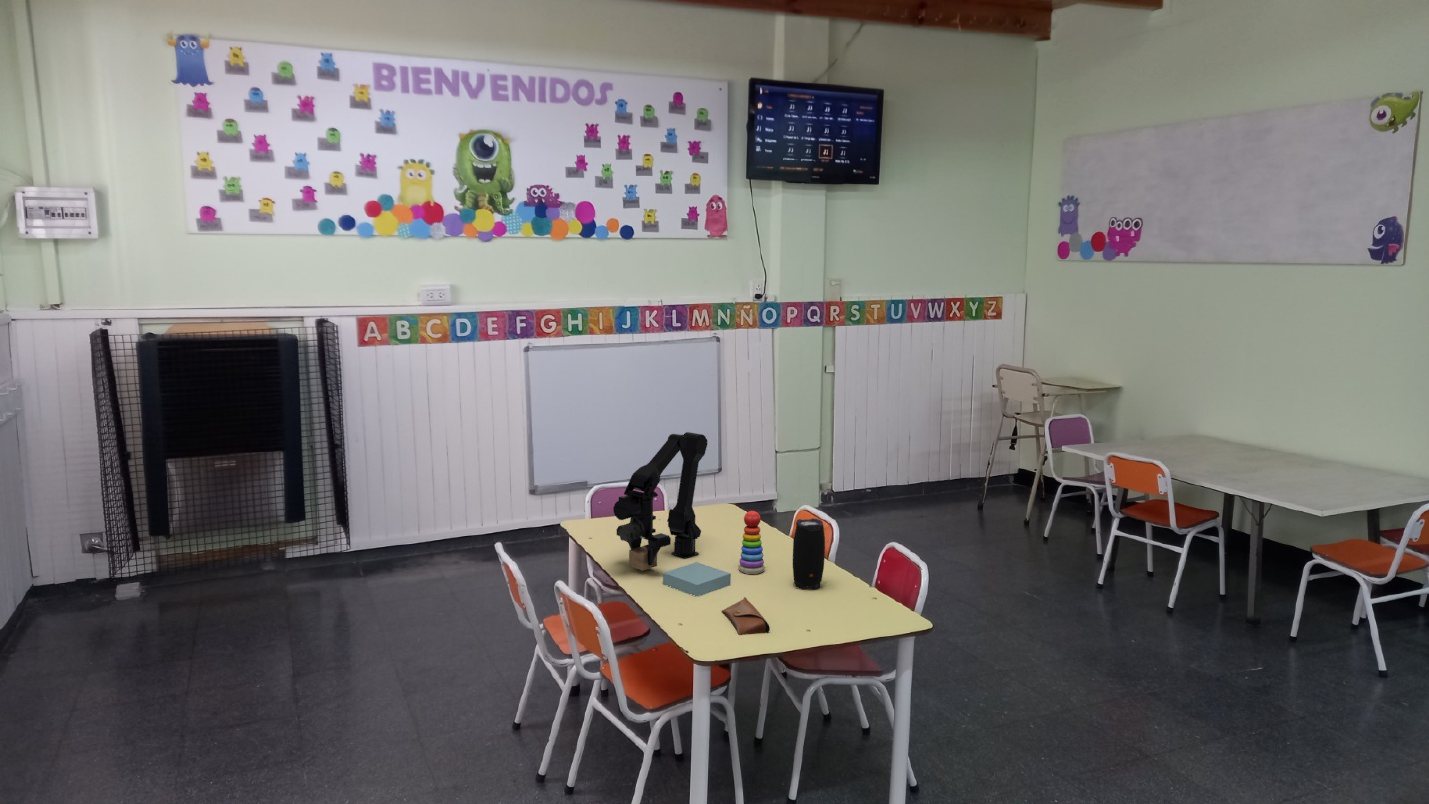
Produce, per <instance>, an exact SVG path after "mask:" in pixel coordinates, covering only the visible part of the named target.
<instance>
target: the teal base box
mask: <svg viewBox="0 0 1429 804" xmlns="http://www.w3.org/2000/svg"><path fill="white" fill-rule="evenodd" d="M731 575H732V574H731V573H730V572H727V571H725V570H722V569H719V568H715V567H712V566H710V565H706V564H704V563H701V562H697V561H696V562H692V563H689V564H687V565H682V566H679V567H677V568H674V569H671V570H667V571H664V572H663V573H662V585H664V586H666V585H668V586H667V587H669V586H671V587H670V588H671V589H674V588H675V590H677V589H678V591H680V592H683V593H685V594H688V595H690V594H692V595H691V596H693V595H695V596H694V597H696V596H698V597H700V596H699V595H701V596H704V595H706V594H709V593H712V592H715V591H717V590H721V589H724V588H726V587H729V586H731V580H732V579H731V577H732V576H731ZM703 594H704V595H703Z"/></svg>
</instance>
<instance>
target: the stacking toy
mask: <svg viewBox="0 0 1429 804" xmlns="http://www.w3.org/2000/svg"><path fill="white" fill-rule="evenodd" d="M743 521H744V522H743V523H744V524H745V527H743V532H744V533H743V535H742V541H741V544H742V546H741V548H740V549H741V552H740V558H739V564H738V565H739V566H738V570H739V571H740V572H741V573H744V574H747V575H757V574H761V573H763V572H764V571H765V570H766V569H765V568H766V567H765V565H764V563H765V560H764V553H763V551H764V549H763V546H762V543H763V542H762V540H761V538H762V535H761V528H760V526H759V524H760V523H761V516H760V514H759V513H758V512H757V511H754V510H749V511H747V512H746V513H745V515H744V516H743Z"/></svg>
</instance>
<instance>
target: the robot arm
mask: <svg viewBox="0 0 1429 804" xmlns="http://www.w3.org/2000/svg"><path fill="white" fill-rule="evenodd" d="M707 447H708V439H707V438H706V435H704V434H702V433H701V434H700V433H697V432H696V433H695V432H690V431H686V432H684V434H679V433H678V434H676V433H672V434H670V435H668V438H667V440H666V441H665V443H664V444H663V445H662V446H661V447H660V448H659V450H658V451H657V452H656V453H655V455H654V456H653V457H652V458H651V460H649V461H648V462H647V464H645V465H642V466H640V467H638V468H637V469H636V470H635V471H634V472H633V473H632V475H631V477H630V480H629V481H628V484H627V486H626V488H625V489H624V493H623V495H621V496H618V501H616V502H615V503H614V504H613V505H614V506H613V507H612V508H613V509H612V510H613V514H614V516H615V517H616V518H617V519H618V520H619V521H624V520H627V519H630V520H629V522H628V523H626V524H621V525H620V524H619V525H618V527H617V528H616V536H618V537H619V538H620V541H623V542H626V543H627V544H628V545H629V548H630V550H631V549H635V548H638V547H642V546H641V545H642V540H643V539H644V540H646V541H647V544H644V545H643V546H645V547H646V548H647V550H648V565H652V563H653V561H654V559H655V557H656V555H657V556H658V554H659V551H660V550H661V548H664V547H667V546H671V541H672V538H671V537H670V535H671V536H672V535H673V536H674V541H673V542H674V543H673V545H674V546H673V551H671V552H670V553H671V555H674V556H677V557H679V558H682V559H688V558H691V557H695V556H698V555H699V552H698V551H696V540H697V539H699V538H701V534H702V530H701V528H700V527H699V526H698V524H697V523H696V514H695V511H694V508H693V502H694V496H695V489H696V482H697V476H698V469H699V463H700V461H701V460H702V458H703V457H704V456H705V455H706V451H707ZM679 452H680V454H681V457H682V466H681V474H680V479H679V480H680V481H679V486H678V493H677V498H676V499H677V500H676V505H675V506H674V507H673V509H672V508H670V509H669V510H668V517H667V521H666V522H667V528H668V529H669V532H670V535H668V534H665V533H661V532H660V533H657V531H656V528H654V520H657V519H656V518H657V517H656V515H654V498H656V497H658V496H659V494H658V493H657V492H656V491H655V490H656V488H657V487H658V485H659V484H660V483H661V475H662V473H663V472H664V470H665V469H666V468H667V467H668V466H669V464H670V463H671V462H672V461H673V459H674V458H675V457H676V455H677V454H678V453H679ZM655 533H657V534H655Z"/></svg>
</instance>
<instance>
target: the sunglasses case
mask: <svg viewBox="0 0 1429 804" xmlns="http://www.w3.org/2000/svg"><path fill="white" fill-rule="evenodd" d="M720 611H722V612H721V613H722V614H723V615H724V614H725V615H724V616H725V617H726V618H727V619H728V620H729V622H730V621H731V622H730V623H731V624H732V626H733V627H734V628H735V631H737V634H738V635H739V636H743V635H744V636H745V635H747V636H748V635H758V634H768V633H769V632H770V629H771V628H770V627H771V626H770V624H769V623H768V621H767V620H766V619H765V618H764V617H763V615H762V614H761V613H760V612H759V610H758V609H757V608H756V607H755V606H754V604H752V602H750V601H749V600H748V598H747V597H745V596H744V597H743V599H741V600H739V601H737V602H736V603H733V604H731V605H730V606H728V607H726V608H724V609H722V610H720Z"/></svg>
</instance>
